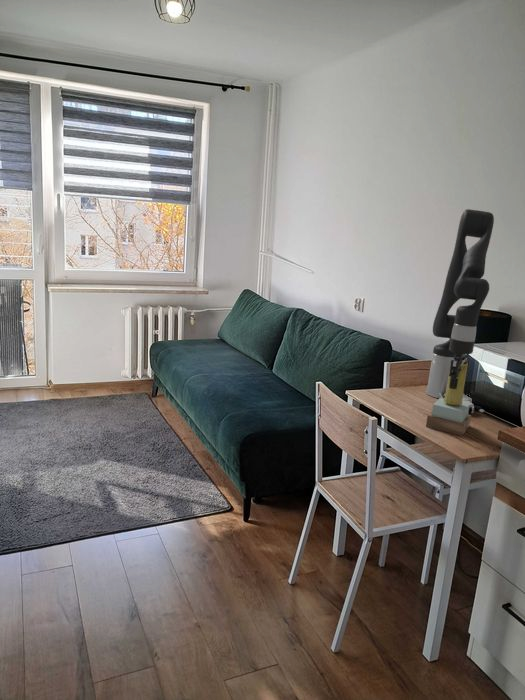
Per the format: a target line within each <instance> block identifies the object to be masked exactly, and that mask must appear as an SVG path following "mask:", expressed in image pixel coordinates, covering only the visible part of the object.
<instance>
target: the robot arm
mask: <svg viewBox="0 0 525 700" xmlns="http://www.w3.org/2000/svg"><path fill="white" fill-rule="evenodd" d="M494 220H495V218H494V214H493V213H492V212H490V211H484V210H477V209H470V208H469V209H468V208H467V209H464V211H463V212H462V214H461V217H460V219H459V225H458V227H457V228H458V229H457V234H456V238H455V239H456V240H455V243H454V250H453V253H452V257H451V260H450V263H449V267H448V270H447V273H446V277H445V282H444V286H443V291H442V294H441V295H442V296H441V299H440V302H439V304H438V308H437V310H436V313H435V317H434V321H433V324H432V325H433V326H432V334H433V336H435V337H437V338H445V339H448V340H447V341H445V342H444V343H443V342H442V343H440V344H436V345H434V346H433V349H432V356H431V363H430V369H429V374H428V375H429V376H428V382H427V388H426V395H427V396H429V397H432V398H435V399H439V398H442V397H443V396H444V394H445V393H446V388H447V383H448V378H449V376H450V377H451V379H450V385H449V388H451V389H456V387H457V381H458V378H459V373H460V372H461V371H462V365H463V364H465V363H466V362H467V358H468V355H472V354H473V352H474V348H475V341H476V336H477V326H478V319H479V315H480V311H481V309H482V306H483V305H484V302H485V300H486V299H487V297H488V295H489V291H490V283H489V282H488V280H487V279H485V278H483V277H484V275H485V269H486V260H487V259H486V258H487V252H488V249H489V245H490V243H491V237H492V233H493V227H494V224H495V223H494V222H495V221H494ZM466 237H472V238H479V240H477V242H476V243H474V244H473V245H472V246H471V247H469V248H467V244H466V241H467V240H466ZM460 299H462V300H463V299H464V300H473V301H474V302H473V303H472V304H470V305H459V306H458V307H457V308H456V312H455V314H454V315H453V314H449V312H450V310H451V308H452V307H453V306H454V305H455V304H456V303H457V302H458V301H459V300H460ZM461 364H462V365H461ZM460 365H461V366H460ZM459 366H460V369H459ZM454 371H456V374H453V372H454ZM449 373H450V374H449ZM439 393H440V394H441V396H442V397H441V396H440V394H439Z"/></svg>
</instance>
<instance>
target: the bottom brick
mask: <svg viewBox="0 0 525 700" xmlns="http://www.w3.org/2000/svg"><path fill="white" fill-rule="evenodd" d="M431 414H432V411H431V412H430V413H429V414H428V415H427V418H426V424H425V427H427V428H429V427H430V429H433V430H437V429H438V431H441V430H442V432H445V433H450V434H452V435H456V436H461V437H462V436H463V435H464V434H465V432H466V431H467V430H468V429H469V427H470V426H471V425H470V424H471V418H472V415H471V414H468V416H467V417H466V418H465V419H464V421H463V422H462V423H460V422H456V421H452V420H447V419H443V418H439V417H435V416H431Z"/></svg>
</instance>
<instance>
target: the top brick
mask: <svg viewBox="0 0 525 700" xmlns="http://www.w3.org/2000/svg"><path fill="white" fill-rule="evenodd" d="M469 406H470V404H466V403H462V404H461V405H452V404H448V403H446V402H444V398H437V400H436V401H435V402H434V403H433V404H432V409H431V412H432V414H431V416H435V417H439V418H443V419H447V420H452V421H456V422H460V423H462V422H463V421H464V419H465V418H466V417H467V416H468V415H469V413H468V411H469Z"/></svg>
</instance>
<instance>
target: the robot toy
mask: <svg viewBox="0 0 525 700" xmlns="http://www.w3.org/2000/svg"><path fill="white" fill-rule="evenodd" d="M439 394H440V393H439ZM467 395H468V394H466V395H465V393H463V399H462V403H466V404H470V406H469V411H468V414H470V415H471V414H473V413H474V411H475V412H478V413H485V410H484V409H482V407H481V406H479V405H474V403H472V399H473V398H470V397H471V396H470V397H468V396H467ZM440 396H441V394H440ZM441 397H442V396H441ZM444 397H445V394H444V396H443V397H442V398H444Z"/></svg>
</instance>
